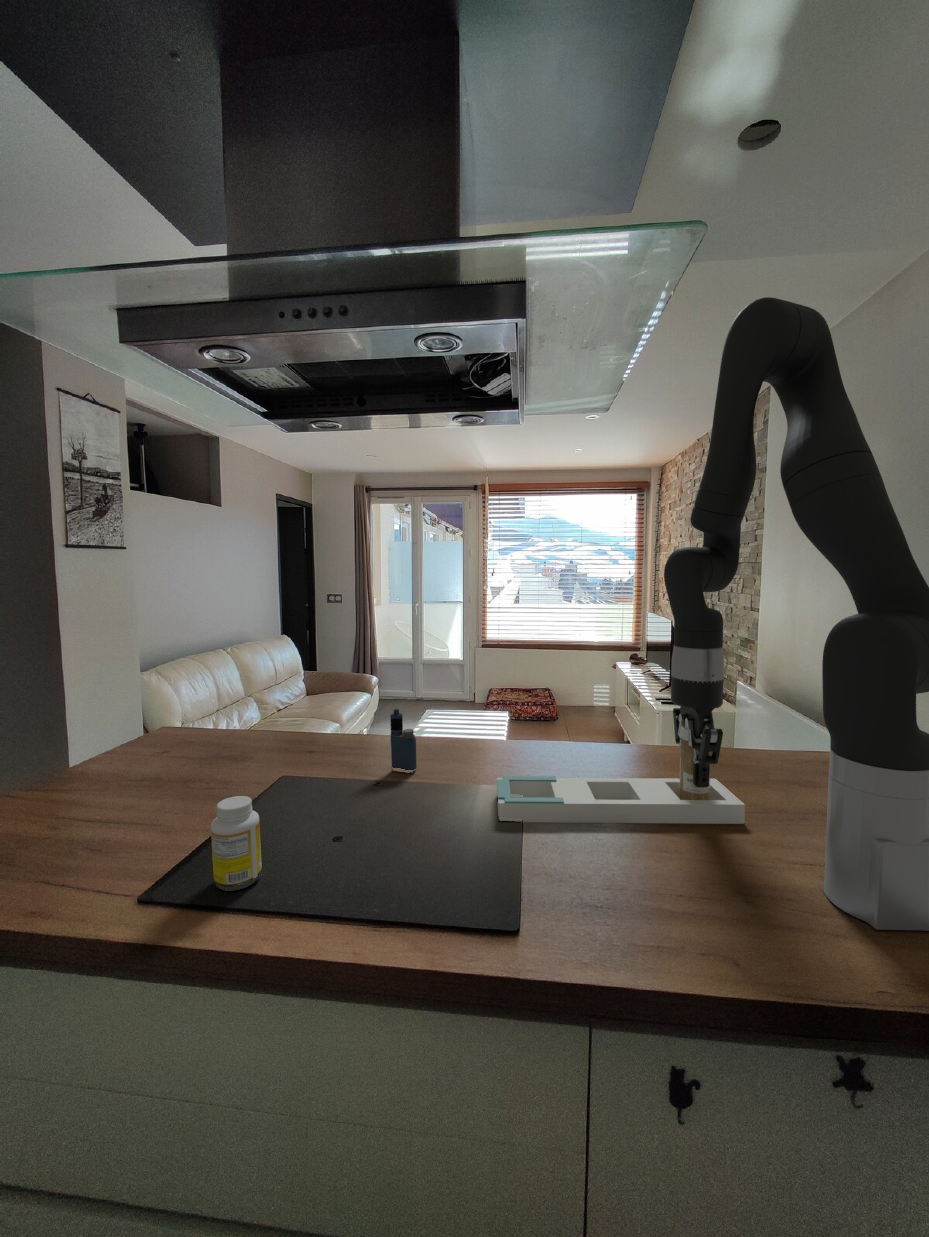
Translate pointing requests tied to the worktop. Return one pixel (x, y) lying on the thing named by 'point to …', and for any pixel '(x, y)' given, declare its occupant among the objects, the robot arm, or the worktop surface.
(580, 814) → the rail
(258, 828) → the supplement bottle
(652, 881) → the worktop surface
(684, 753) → the sprinkles bottle
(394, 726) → the vaping device
